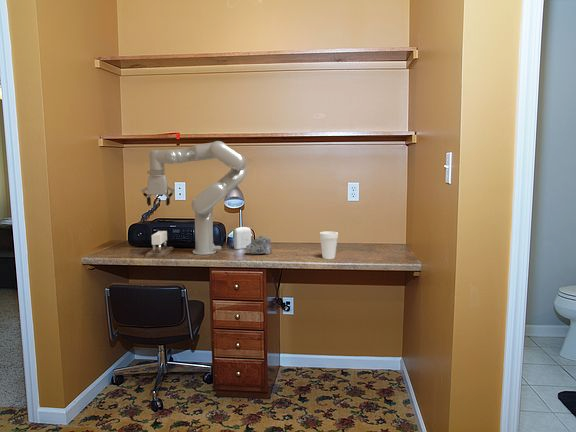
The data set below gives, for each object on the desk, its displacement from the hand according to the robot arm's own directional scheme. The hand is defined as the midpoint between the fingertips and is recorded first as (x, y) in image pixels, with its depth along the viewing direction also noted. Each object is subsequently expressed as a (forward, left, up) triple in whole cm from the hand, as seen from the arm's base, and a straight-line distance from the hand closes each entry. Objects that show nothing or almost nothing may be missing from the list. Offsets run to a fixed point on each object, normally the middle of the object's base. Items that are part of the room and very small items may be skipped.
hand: (158, 205), depth 240 cm
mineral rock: (-54, +4, -26) cm, 60 cm away
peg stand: (0, 0, -26) cm, 26 cm away
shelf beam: (0, 0, -20) cm, 20 cm away
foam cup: (-90, +15, -26) cm, 95 cm away
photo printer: (-44, -12, -26) cm, 53 cm away
